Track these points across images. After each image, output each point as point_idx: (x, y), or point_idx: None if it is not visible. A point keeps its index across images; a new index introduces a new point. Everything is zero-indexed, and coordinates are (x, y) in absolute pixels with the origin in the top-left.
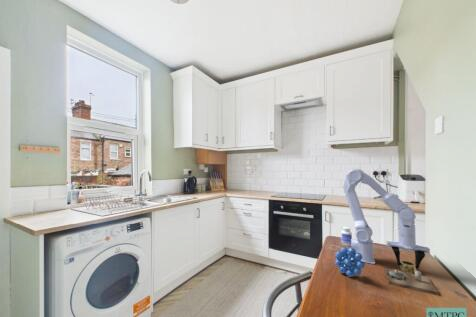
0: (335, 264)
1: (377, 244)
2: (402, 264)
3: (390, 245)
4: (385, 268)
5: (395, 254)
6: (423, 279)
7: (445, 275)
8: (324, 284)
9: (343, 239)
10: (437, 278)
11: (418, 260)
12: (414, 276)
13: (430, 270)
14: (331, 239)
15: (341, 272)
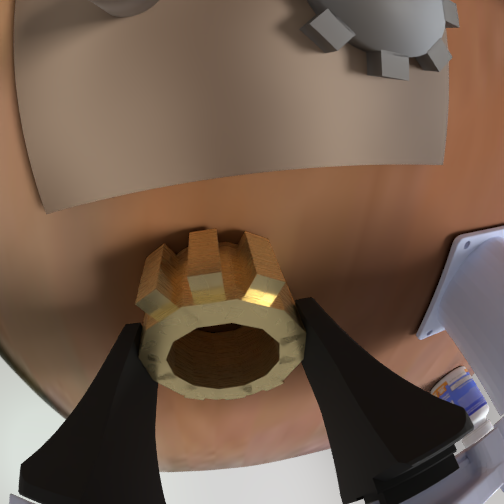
0: None
1: (319, 449)
2: (284, 304)
3: (463, 469)
4: (439, 152)
5: (411, 384)
6: (69, 84)
7: (23, 350)
8: None
9: (475, 384)
10: (21, 280)
11: (102, 409)
12: (158, 97)
13: (91, 375)
14: (470, 374)
15: None
